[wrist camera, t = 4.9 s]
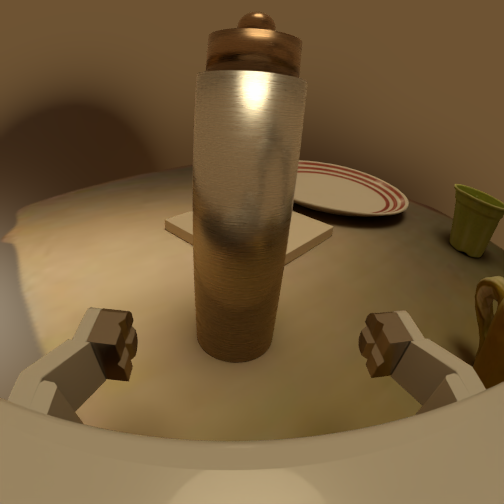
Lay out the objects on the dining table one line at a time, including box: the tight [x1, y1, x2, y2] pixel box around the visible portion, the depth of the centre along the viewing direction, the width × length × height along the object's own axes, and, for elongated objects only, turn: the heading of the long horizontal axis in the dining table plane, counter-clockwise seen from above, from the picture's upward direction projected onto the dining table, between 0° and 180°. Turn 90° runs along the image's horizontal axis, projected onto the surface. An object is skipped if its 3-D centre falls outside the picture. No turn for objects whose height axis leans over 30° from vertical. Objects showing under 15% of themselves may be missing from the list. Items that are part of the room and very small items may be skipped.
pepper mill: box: [193, 12, 307, 362], centre depth 15 cm, size 5×5×20 cm
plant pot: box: [449, 184, 504, 257], centre depth 34 cm, size 9×9×9 cm
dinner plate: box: [293, 161, 409, 216], centre depth 49 cm, size 28×27×3 cm
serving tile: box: [165, 211, 334, 265], centre depth 34 cm, size 14×14×1 cm
